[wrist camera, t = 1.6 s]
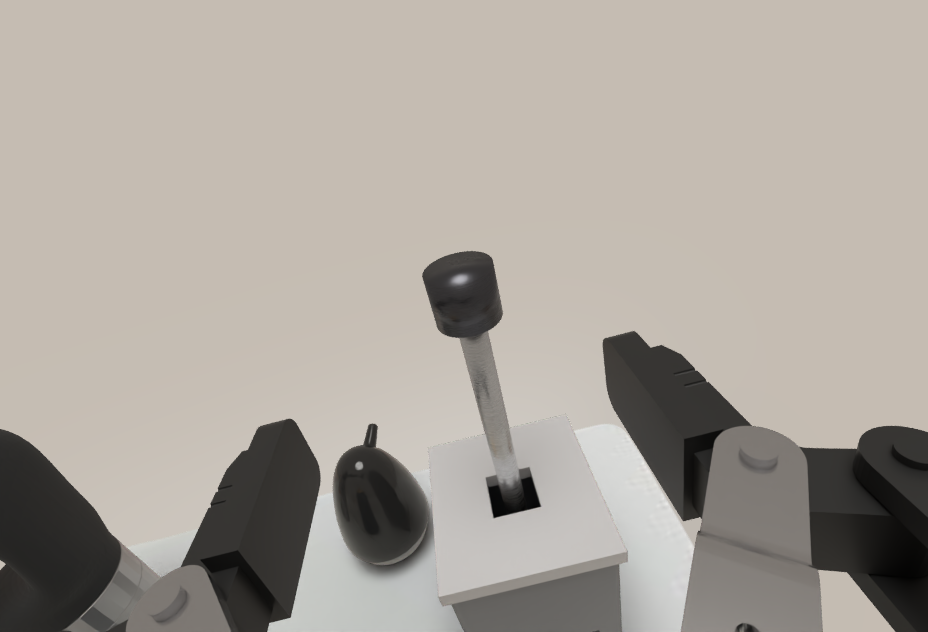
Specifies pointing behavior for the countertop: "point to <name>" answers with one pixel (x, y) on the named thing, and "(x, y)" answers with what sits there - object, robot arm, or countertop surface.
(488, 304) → the plunger
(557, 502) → the press
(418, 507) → the black egg-shaped dispenser
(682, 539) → the countertop surface
